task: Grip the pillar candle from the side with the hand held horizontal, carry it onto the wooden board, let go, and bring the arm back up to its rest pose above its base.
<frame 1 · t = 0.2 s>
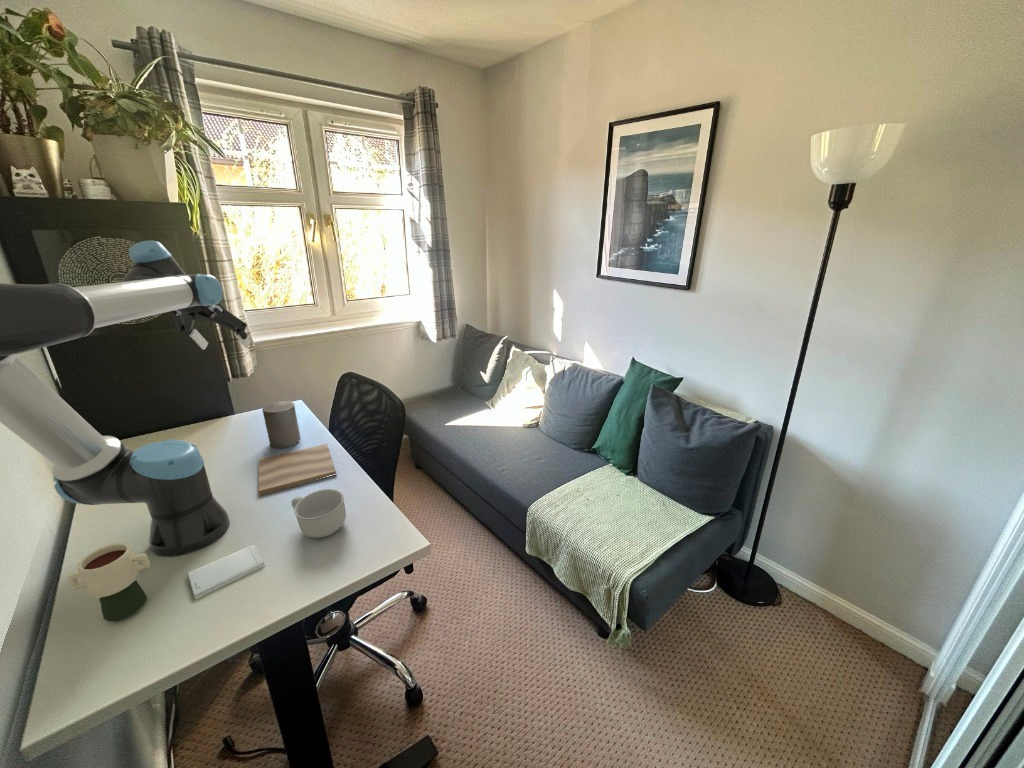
hand: (227, 345, 131), 35 cm above the table, tool tilted 35°, fingers open, 13 cm apart
hard drive: (228, 573, 88), on the table
wooden board: (297, 469, 126), on the table
pillar candle: (286, 442, 143), on the table
teacup: (320, 528, 101), on the table
character mug: (127, 610, 79), on the table
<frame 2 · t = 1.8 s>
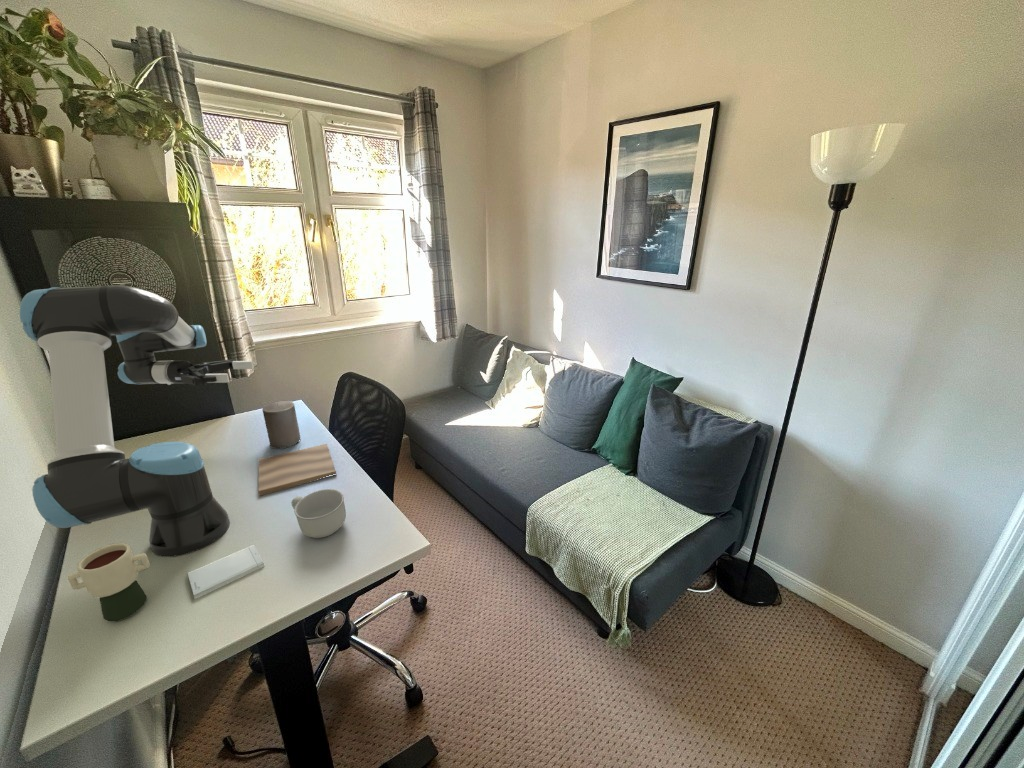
hand: (241, 371, 134), 26 cm above the table, tool horizontal, fingers open, 13 cm apart
nothing on the table moved.
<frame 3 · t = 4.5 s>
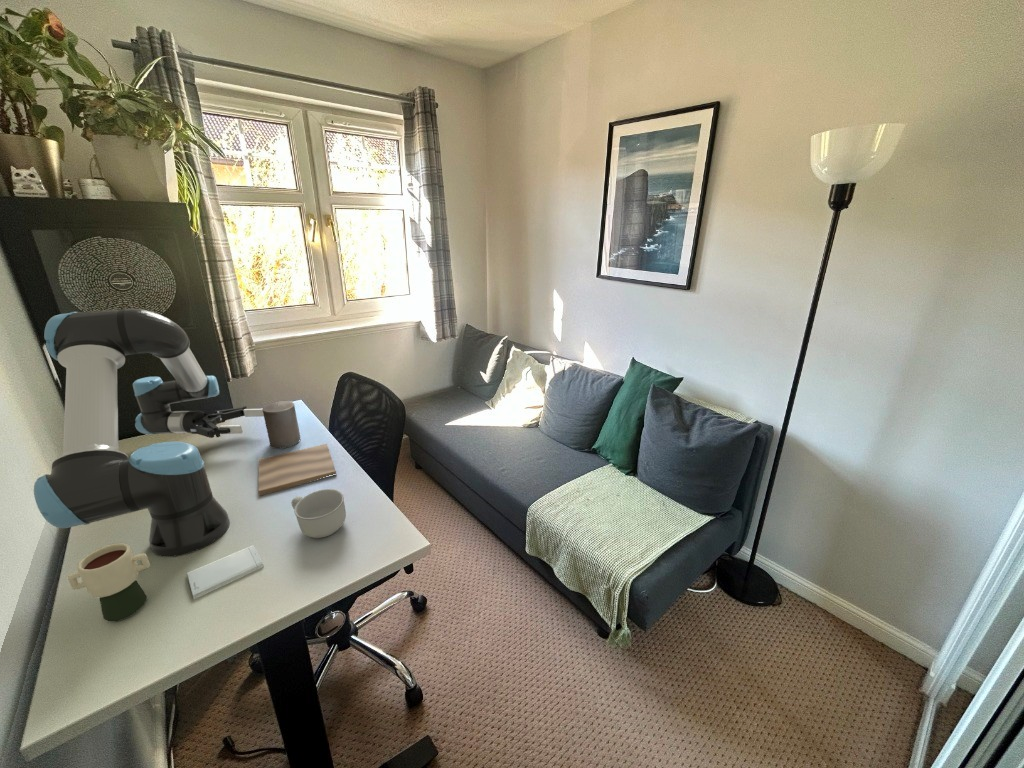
hand: (252, 420, 140), 8 cm above the table, tool horizontal, fingers open, 13 cm apart
nothing on the table moved.
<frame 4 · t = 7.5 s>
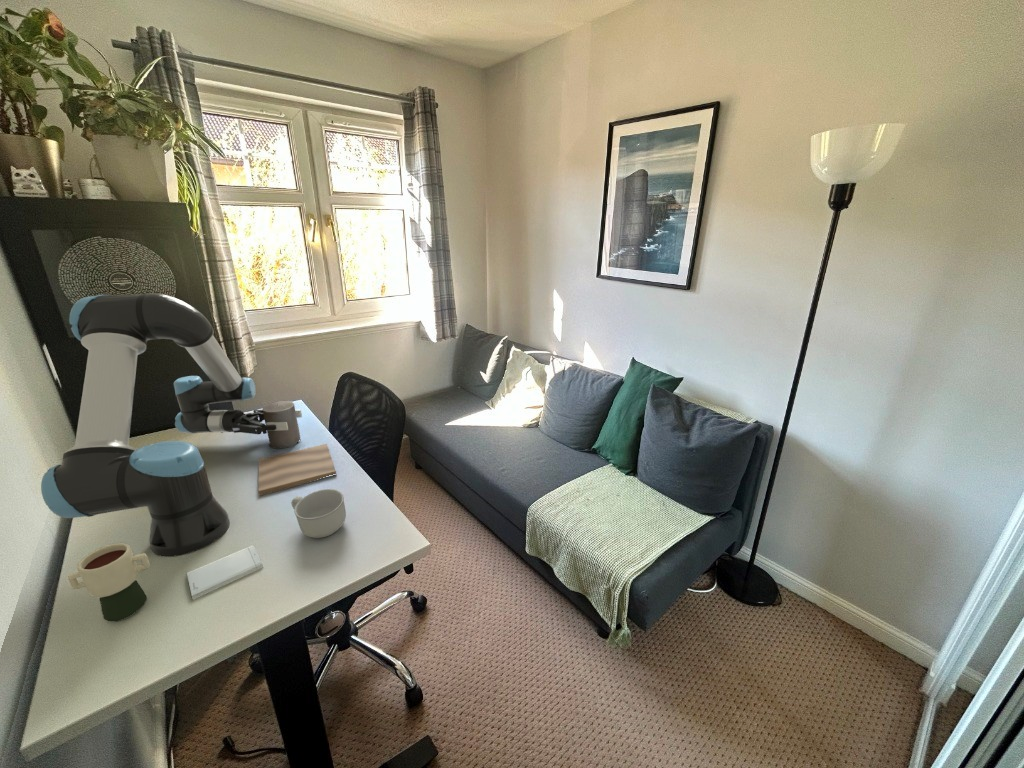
hand: (294, 419, 140), 9 cm above the table, tool horizontal, fingers closed on pillar candle, 10 cm apart
pillar candle: (286, 442, 143), on the table, touching gripper
everything else where it was.
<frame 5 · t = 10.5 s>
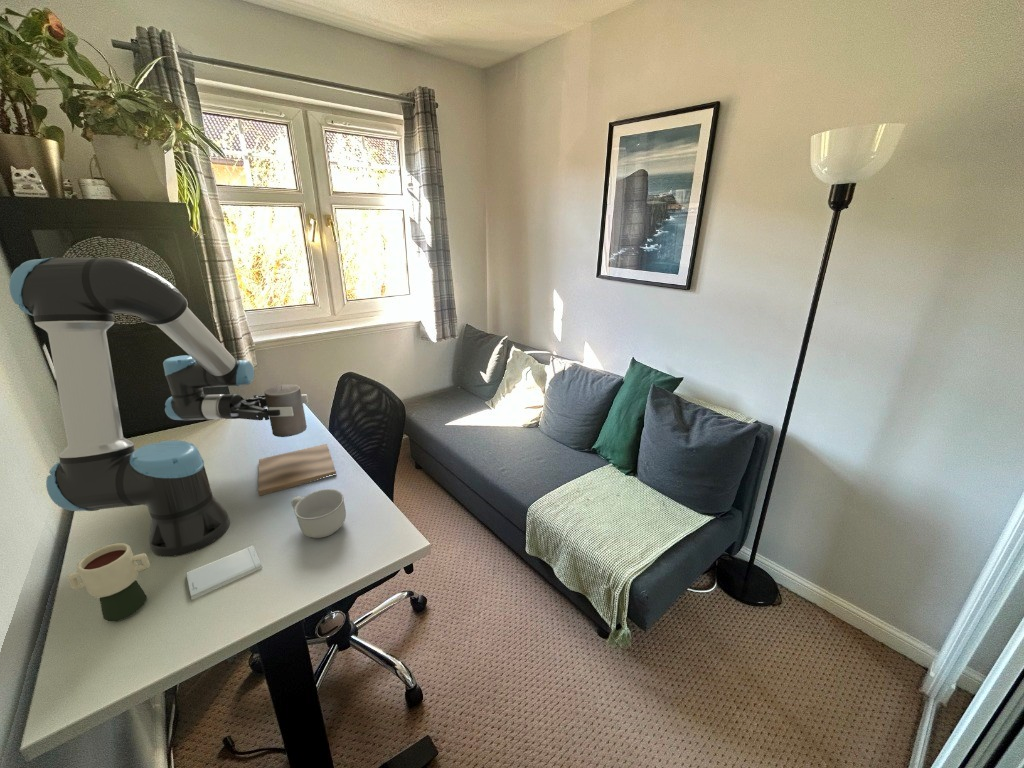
hand: (300, 404, 125), 19 cm above the table, tool horizontal, fingers closed on pillar candle, 10 cm apart
pillar candle: (290, 431, 128), point 10 cm above the table, touching gripper
everything else where it was.
when the fingers open (11 cm above the table, at t = 13.5 s): pillar candle stays where it is, resting on wooden board.
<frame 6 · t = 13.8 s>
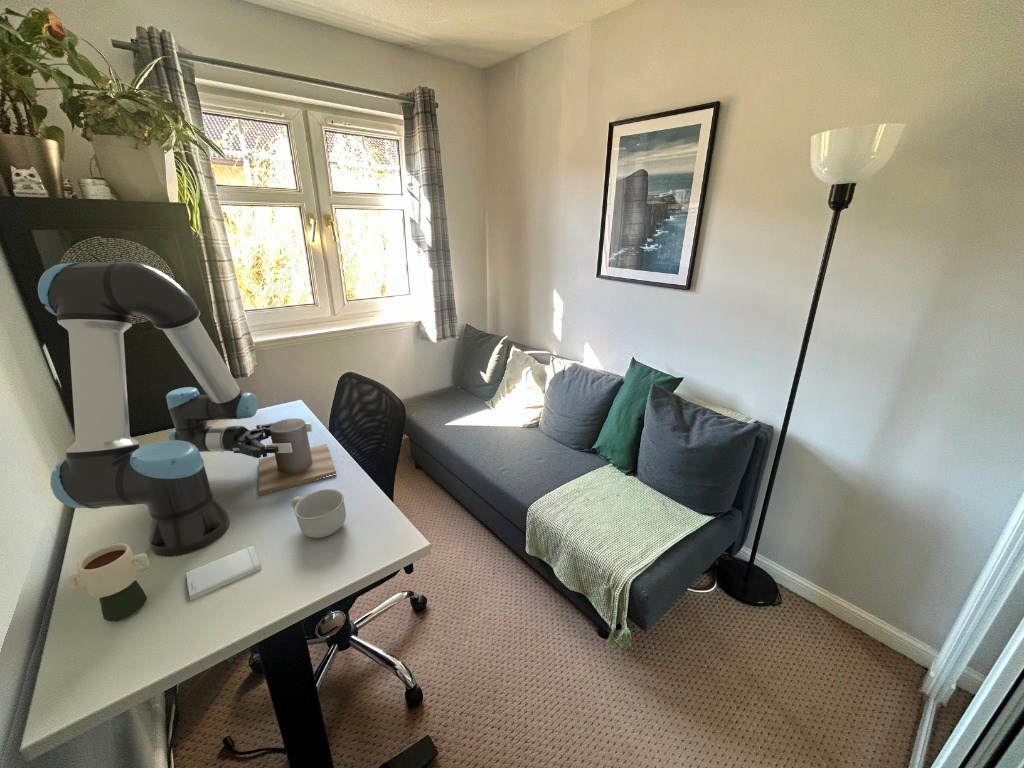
hand: (301, 437, 123), 11 cm above the table, tool horizontal, fingers open, 13 cm apart
pillar candle: (296, 465, 126), point 1 cm above the table, touching wooden board
everything else where it was.
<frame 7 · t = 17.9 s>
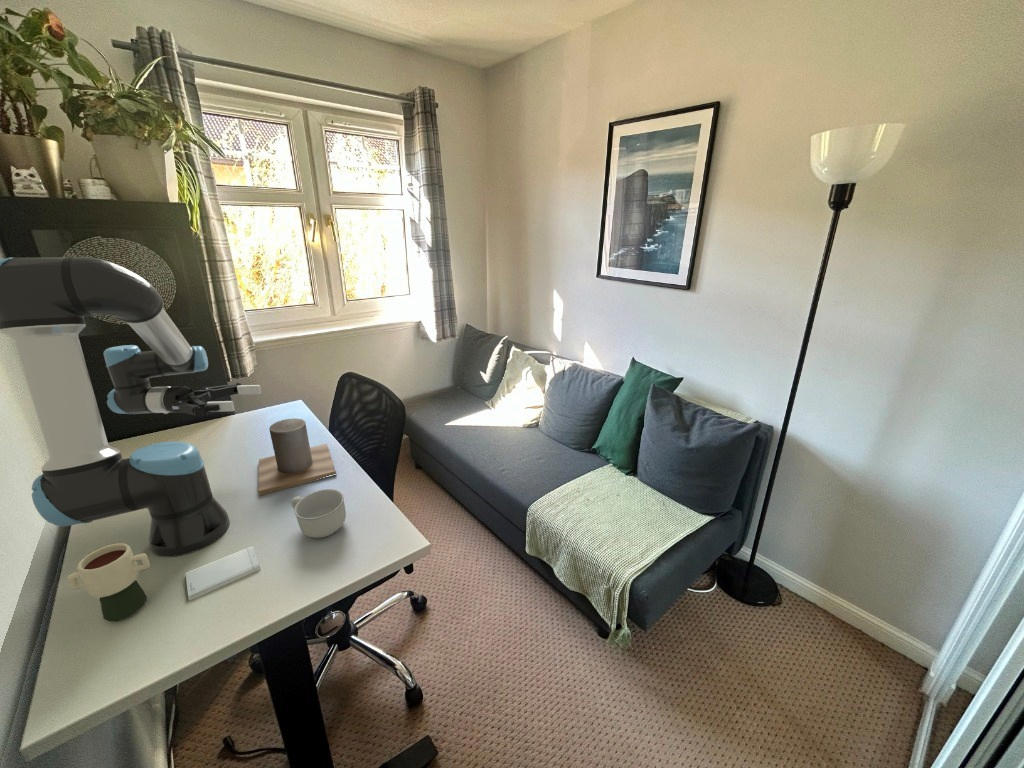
hand: (247, 397, 118), 24 cm above the table, tool horizontal, fingers open, 13 cm apart
nothing on the table moved.
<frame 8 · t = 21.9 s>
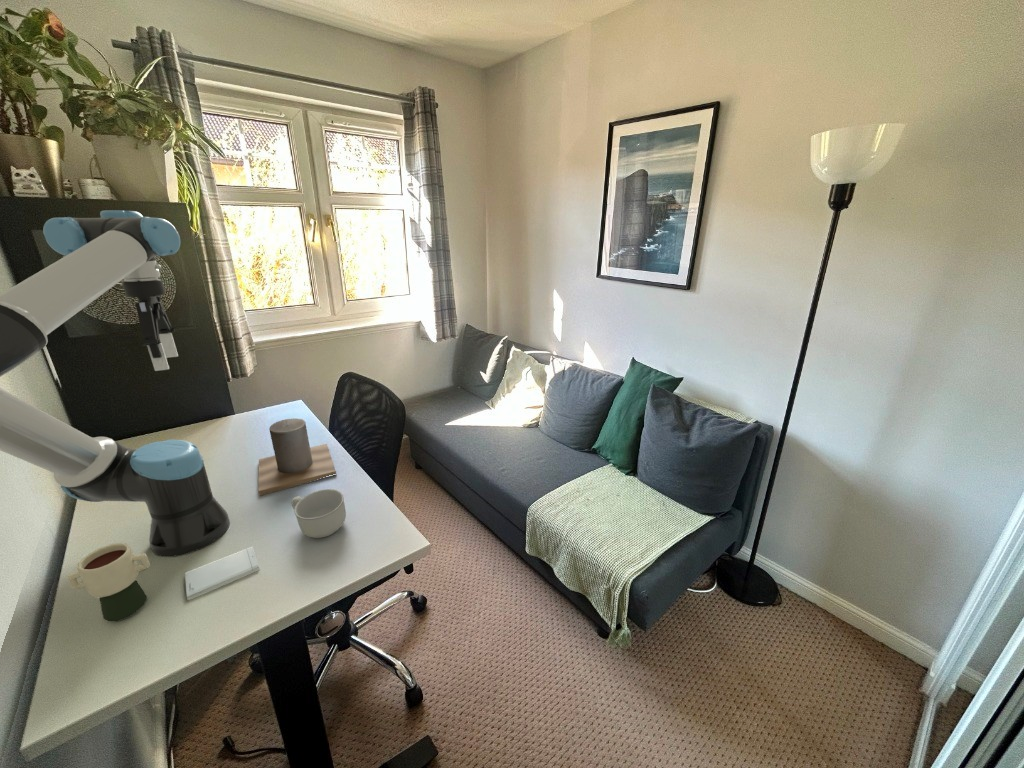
hand: (167, 363, 107), 37 cm above the table, tool pointing down, fingers open, 13 cm apart
nothing on the table moved.
at the end: pillar candle inside the target area on the wooden board (0.1 cm from its centre), point 1.3 cm above the wooden board's base; pillar candle tilted 0°; the gripper is holding nothing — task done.
